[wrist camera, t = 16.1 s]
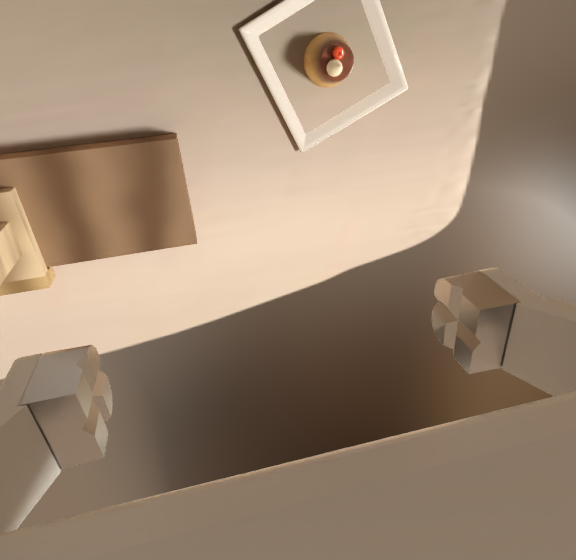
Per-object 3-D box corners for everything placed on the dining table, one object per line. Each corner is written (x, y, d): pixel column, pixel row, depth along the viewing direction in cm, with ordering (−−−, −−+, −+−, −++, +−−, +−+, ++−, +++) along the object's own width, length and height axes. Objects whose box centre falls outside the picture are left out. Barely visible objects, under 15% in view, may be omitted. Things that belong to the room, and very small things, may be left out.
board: (-38, 269, 41) (-49, 282, 39) (-91, 164, 36) (-108, 172, 34) (196, 233, 45) (197, 243, 43) (176, 133, 40) (176, 138, 37)
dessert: (358, -48, 37) (381, -59, 32) (403, 87, 43) (427, 92, 39) (236, 29, 37) (243, 28, 33) (298, 151, 44) (311, 163, 39)
